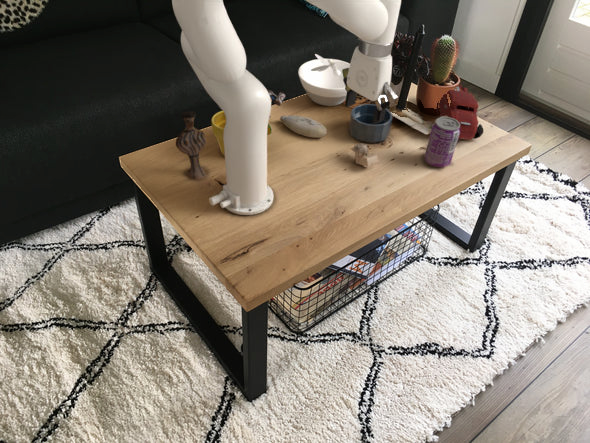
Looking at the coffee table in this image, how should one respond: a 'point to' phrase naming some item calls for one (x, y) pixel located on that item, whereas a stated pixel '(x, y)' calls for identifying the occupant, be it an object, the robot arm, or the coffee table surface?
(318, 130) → the decorative stone
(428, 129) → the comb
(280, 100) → the pirate figurine
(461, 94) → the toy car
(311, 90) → the bowl
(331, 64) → the fairy figurine
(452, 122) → the beverage can
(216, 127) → the flower pot
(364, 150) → the toy character
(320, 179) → the coffee table surface
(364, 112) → the dark blue cup
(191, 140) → the brown ridged tall piece
